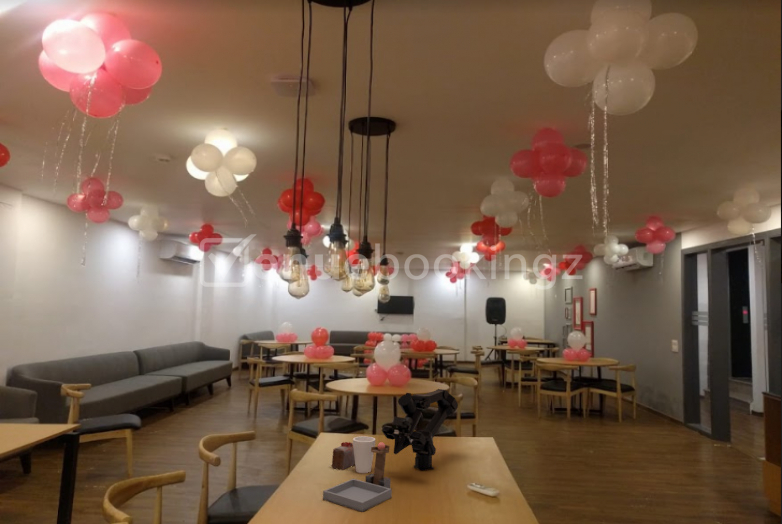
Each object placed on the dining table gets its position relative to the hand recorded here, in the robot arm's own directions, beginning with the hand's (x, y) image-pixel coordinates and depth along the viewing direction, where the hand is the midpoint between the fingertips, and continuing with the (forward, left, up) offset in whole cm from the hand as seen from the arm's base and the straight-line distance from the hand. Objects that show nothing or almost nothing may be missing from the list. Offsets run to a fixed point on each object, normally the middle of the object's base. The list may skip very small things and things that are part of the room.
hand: (394, 453), depth 211 cm
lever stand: (+10, +5, -11) cm, 15 cm away
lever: (+11, +5, -10) cm, 15 cm away
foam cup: (+5, -17, -11) cm, 21 cm away
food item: (+8, -27, -11) cm, 31 cm away
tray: (+21, +10, -11) cm, 26 cm away
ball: (+8, +4, +5) cm, 10 cm away
